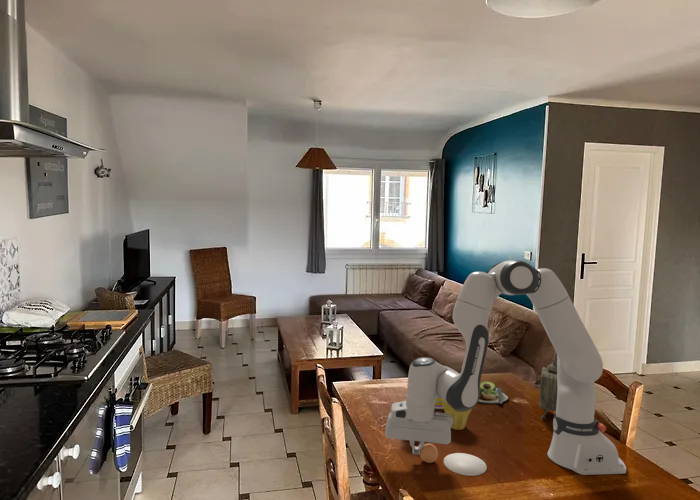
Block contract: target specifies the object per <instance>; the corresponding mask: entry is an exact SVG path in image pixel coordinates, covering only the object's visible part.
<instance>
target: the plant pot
mask: <svg viewBox="0 0 700 500" xmlns="http://www.w3.org/2000/svg"><path fill="white" fill-rule="evenodd" d="M442 410H444V413H448V414H449V415H451V416H452V418H453V425H452V426H451V427H450V429H451V430H455V431H458V430H464V429H465V427H466V425H467V421H468V419H469V415H470V413H472V409H470V410H468V411H465V412H458V411H456V410H455V409H453V408H452V407H451V406H450V405H449V404H448V403H447V402H445V401H444V400H443V409H442ZM448 417H450V416H448Z"/></svg>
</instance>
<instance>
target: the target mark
mask: <svg viewBox="0 0 700 500" xmlns="http://www.w3.org/2000/svg"><path fill="white" fill-rule="evenodd" d="M443 465H444V466H445V467H446V468H447V469H448V470H449V471H451V472H453V473H455V474H457V475H462V476H468V477H469V476H470V477H476V476H481V475H482V474H484V473H485V472H486V471H487V468H488V467H487V464H486V462H485V461H484V460H482V459H481V458H479V457H478V456H475V455H473V454H470V453H469V454H468V453H463V452H455V453H450V454H447V455H446V456H445V457H444V458H443Z"/></svg>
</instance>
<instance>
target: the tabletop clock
mask: <svg viewBox="0 0 700 500" xmlns="http://www.w3.org/2000/svg"><path fill="white" fill-rule="evenodd" d="M556 356H557V353H556V352H554V353H553V360H552V363H550V364H549V365H547V367H545V366H543V367H542V369H541V375H540V384H539V385H540V386H539V388H540V389H539V399H538V400H539V401H538V403H539V404H538V409H541V410H545V411H544V414H542V415H541V416H540V417H541V419H542V420H545V419H547V417H546V415H547V413H548V412H550V411H554V412H556V405H557V389H558V385H557V360H556Z"/></svg>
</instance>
